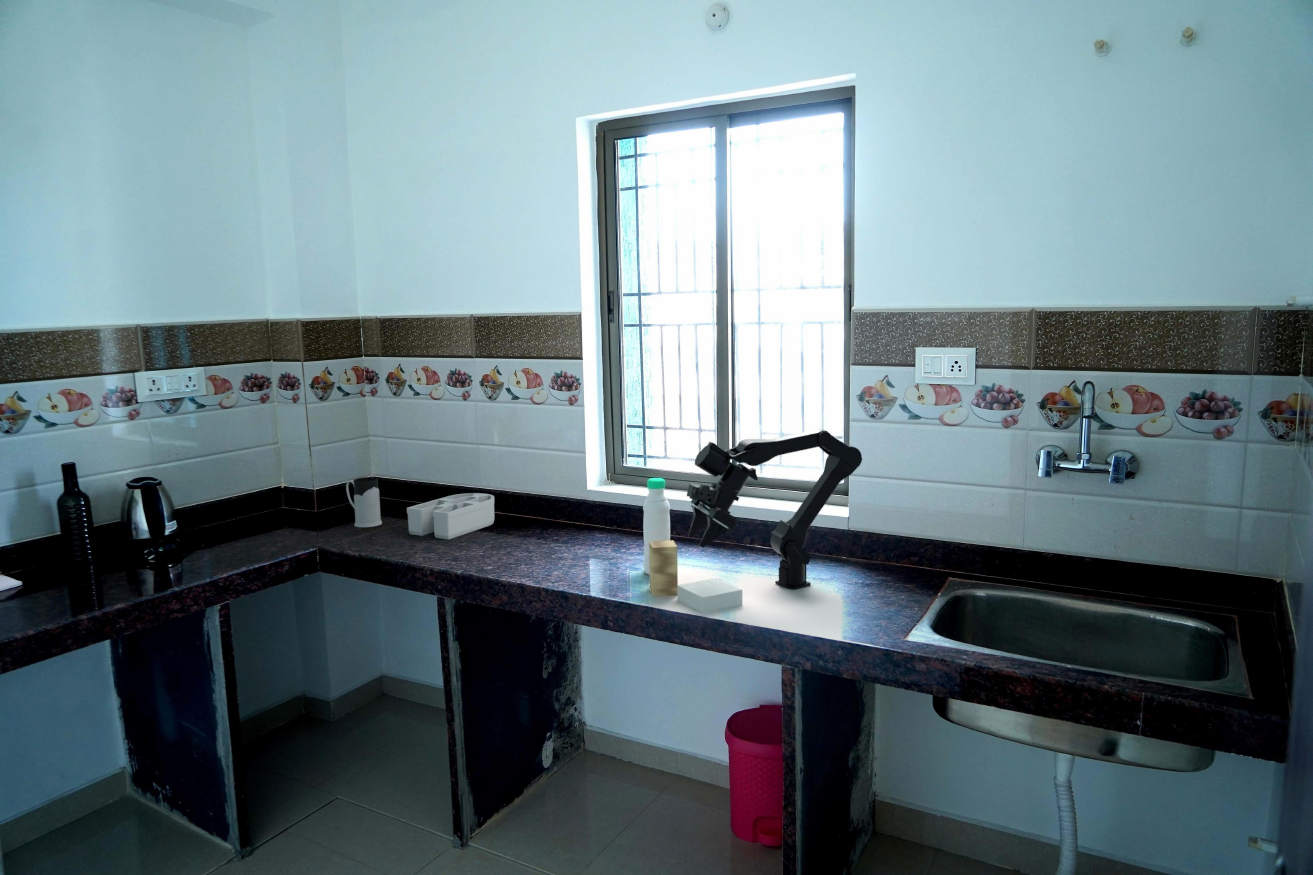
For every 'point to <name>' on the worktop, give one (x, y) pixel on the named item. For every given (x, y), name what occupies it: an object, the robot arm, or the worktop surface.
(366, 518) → the white and grey pitcher
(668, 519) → the water bottle
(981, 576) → the worktop surface
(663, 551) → the honey wood block
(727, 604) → the grey base block
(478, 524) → the white compartment organizer
